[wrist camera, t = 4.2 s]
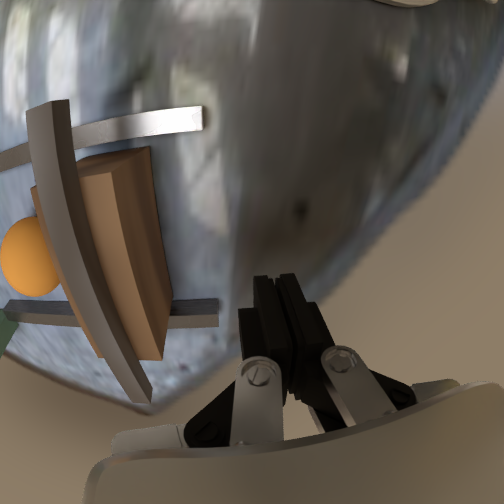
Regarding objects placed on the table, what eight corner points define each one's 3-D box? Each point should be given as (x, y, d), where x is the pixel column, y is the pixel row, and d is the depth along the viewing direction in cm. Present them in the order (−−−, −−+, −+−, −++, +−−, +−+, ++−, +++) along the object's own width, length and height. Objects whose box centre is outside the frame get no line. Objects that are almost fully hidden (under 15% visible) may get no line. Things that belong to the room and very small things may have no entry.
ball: (69, 199, 14) (26, 236, 10) (87, 266, 17) (59, 314, 12) (18, 209, 14) (-23, 244, 10) (38, 269, 16) (7, 311, 12)
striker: (145, 92, 12) (87, 89, 6) (180, 326, 20) (172, 404, 14) (80, 107, 11) (0, 122, 5) (131, 326, 19) (112, 400, 14)
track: (203, 105, 13) (201, 105, 11) (218, 311, 20) (218, 326, 18) (-35, 169, 11) (-48, 176, 10) (15, 309, 18) (8, 320, 17)
